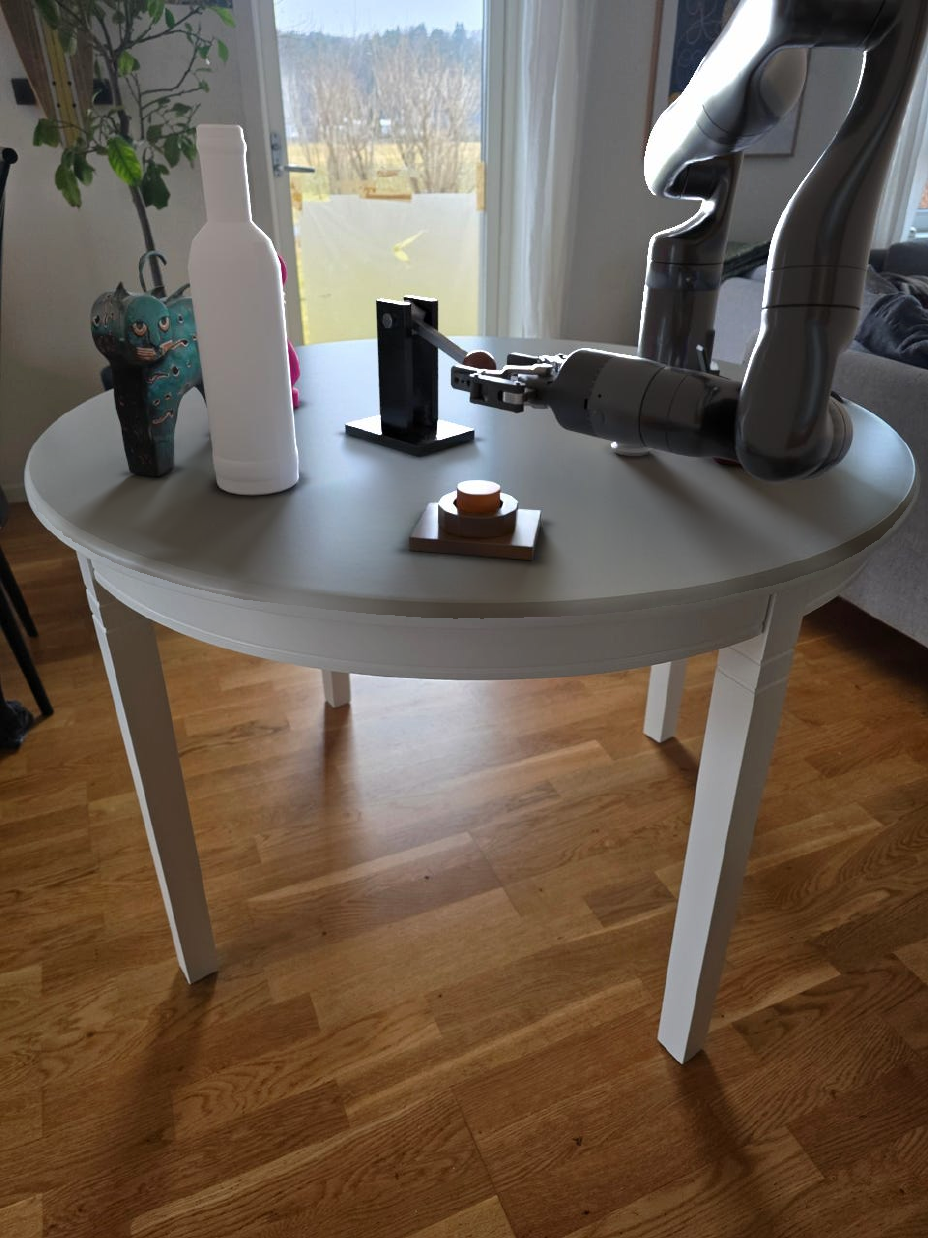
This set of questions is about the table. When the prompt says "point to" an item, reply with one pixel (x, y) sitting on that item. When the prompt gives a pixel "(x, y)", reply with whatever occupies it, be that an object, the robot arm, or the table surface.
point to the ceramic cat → (148, 366)
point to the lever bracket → (408, 385)
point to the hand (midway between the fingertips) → (481, 369)
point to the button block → (477, 530)
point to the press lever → (449, 343)
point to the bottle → (240, 327)
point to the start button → (478, 496)
